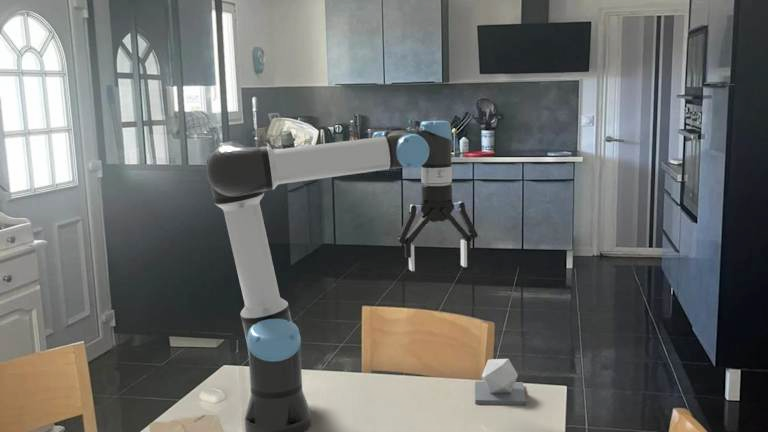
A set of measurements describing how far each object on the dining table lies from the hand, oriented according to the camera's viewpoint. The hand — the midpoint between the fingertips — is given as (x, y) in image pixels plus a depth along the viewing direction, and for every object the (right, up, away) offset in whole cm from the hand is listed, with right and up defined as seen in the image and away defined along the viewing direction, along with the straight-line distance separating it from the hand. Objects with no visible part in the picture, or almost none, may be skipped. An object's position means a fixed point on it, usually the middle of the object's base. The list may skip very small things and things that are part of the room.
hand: (438, 268), depth 196 cm
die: (+15, -30, -3) cm, 34 cm away
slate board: (+15, -31, -3) cm, 35 cm away
